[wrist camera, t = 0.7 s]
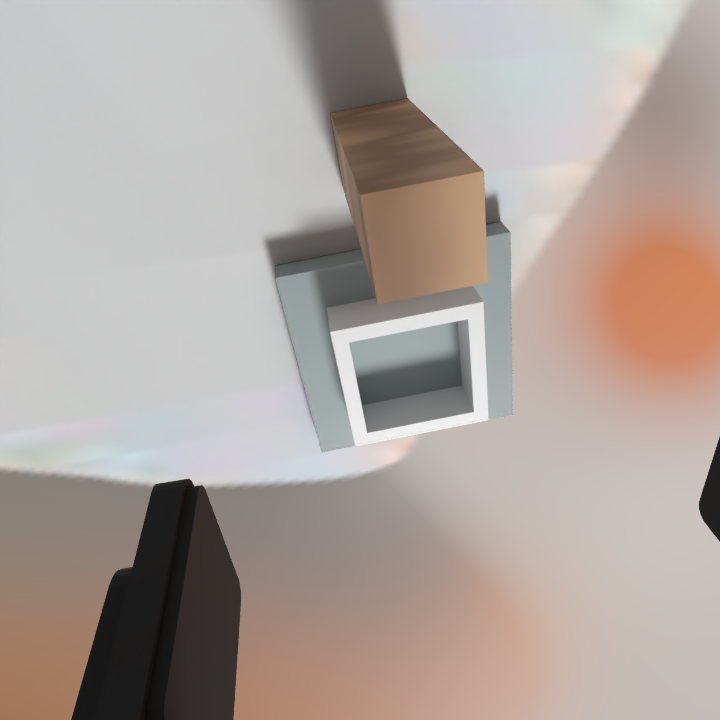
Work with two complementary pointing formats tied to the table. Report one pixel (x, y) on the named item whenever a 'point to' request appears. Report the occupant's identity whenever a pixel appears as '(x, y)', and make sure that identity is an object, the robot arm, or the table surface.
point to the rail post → (411, 201)
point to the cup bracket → (398, 349)
